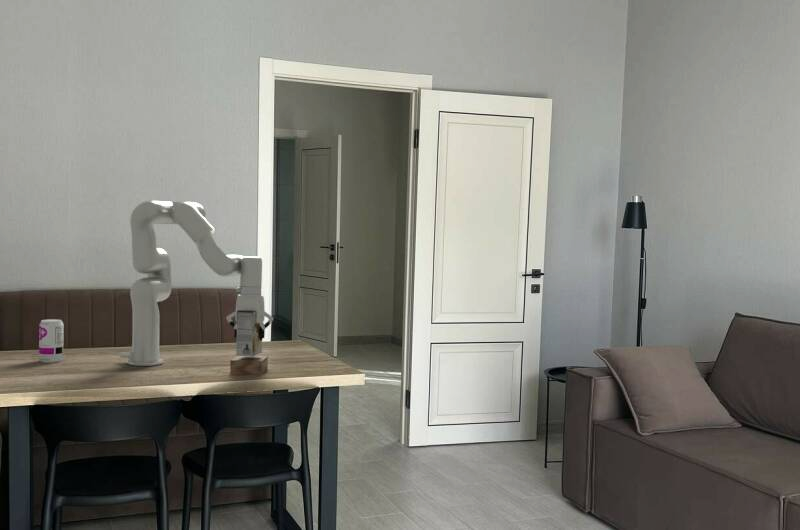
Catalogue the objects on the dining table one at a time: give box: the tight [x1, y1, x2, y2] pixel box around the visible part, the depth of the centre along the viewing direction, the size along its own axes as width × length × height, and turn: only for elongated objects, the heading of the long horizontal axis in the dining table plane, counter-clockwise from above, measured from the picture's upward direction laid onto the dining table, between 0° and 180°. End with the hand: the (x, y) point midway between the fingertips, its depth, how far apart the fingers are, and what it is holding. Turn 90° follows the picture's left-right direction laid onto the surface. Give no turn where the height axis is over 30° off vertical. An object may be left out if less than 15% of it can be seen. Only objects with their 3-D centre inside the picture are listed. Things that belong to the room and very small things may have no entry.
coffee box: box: [235, 311, 263, 357], centre depth 289 cm, size 9×6×16 cm
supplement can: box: [38, 318, 65, 364], centre depth 297 cm, size 8×8×15 cm
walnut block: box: [229, 355, 269, 375], centre depth 290 cm, size 11×11×5 cm
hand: (249, 339), depth 290 cm, fingers closed on coffee box, 7 cm apart
